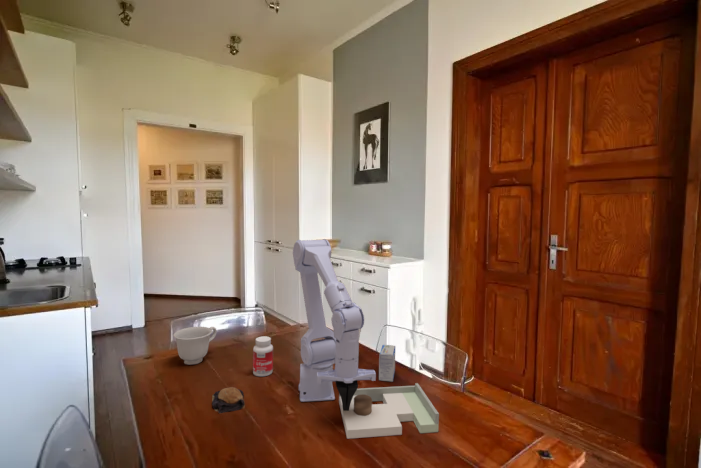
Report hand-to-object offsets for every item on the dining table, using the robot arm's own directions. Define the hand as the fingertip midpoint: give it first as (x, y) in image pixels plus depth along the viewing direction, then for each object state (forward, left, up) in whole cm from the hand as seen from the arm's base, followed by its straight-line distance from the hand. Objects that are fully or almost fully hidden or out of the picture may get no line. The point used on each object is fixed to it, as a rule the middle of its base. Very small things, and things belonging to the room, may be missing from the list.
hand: (345, 408), depth 89 cm
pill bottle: (-23, +28, -3) cm, 36 cm away
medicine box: (+16, +22, -3) cm, 28 cm away
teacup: (-46, +40, -3) cm, 61 cm away
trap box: (+10, 0, -3) cm, 11 cm away
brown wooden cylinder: (+4, 0, -1) cm, 4 cm away
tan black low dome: (-30, +12, -4) cm, 33 cm away
